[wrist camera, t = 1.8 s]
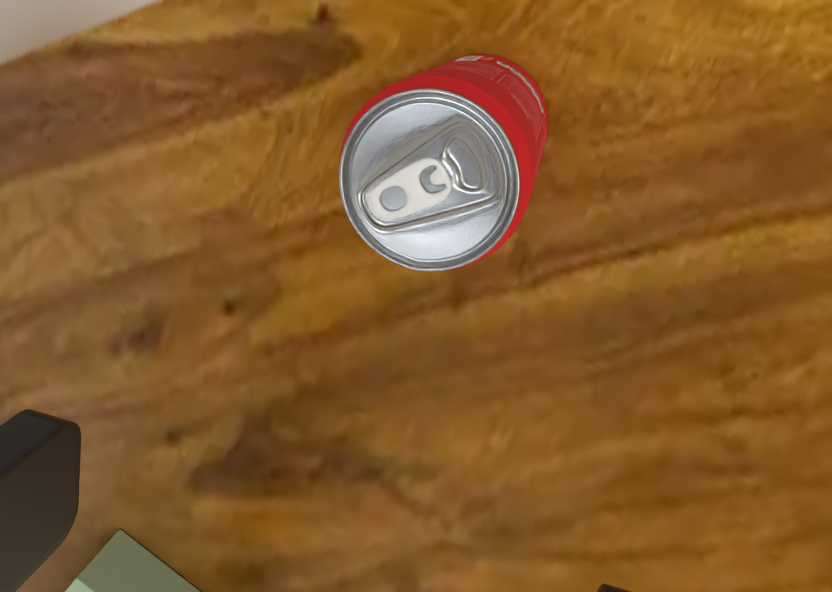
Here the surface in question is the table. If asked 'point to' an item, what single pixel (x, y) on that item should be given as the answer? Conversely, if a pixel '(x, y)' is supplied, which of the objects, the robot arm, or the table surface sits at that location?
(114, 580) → the shelf stand
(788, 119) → the table surface
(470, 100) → the beverage can
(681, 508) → the table surface
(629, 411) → the table surface
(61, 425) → the robot arm
